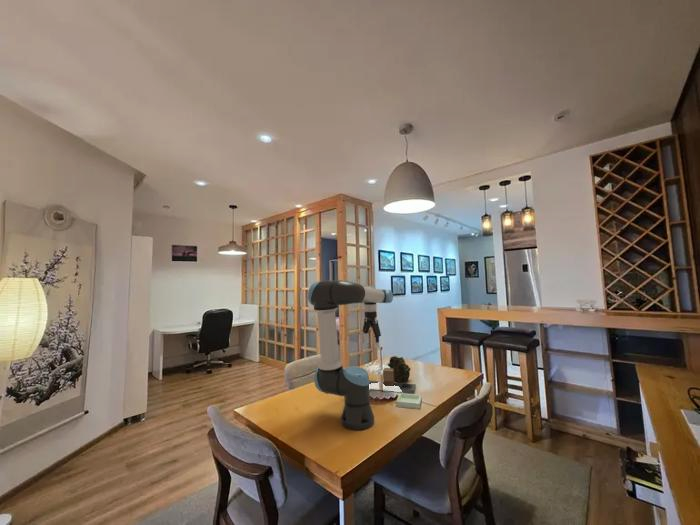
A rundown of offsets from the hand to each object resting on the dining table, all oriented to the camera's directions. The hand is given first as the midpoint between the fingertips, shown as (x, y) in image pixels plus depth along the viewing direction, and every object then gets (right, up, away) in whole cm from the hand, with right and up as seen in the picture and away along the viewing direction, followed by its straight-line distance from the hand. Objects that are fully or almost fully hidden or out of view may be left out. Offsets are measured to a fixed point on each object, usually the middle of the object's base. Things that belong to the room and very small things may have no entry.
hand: (371, 345), depth 176 cm
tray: (+17, -21, -29) cm, 40 cm away
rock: (+19, -24, +6) cm, 31 cm away
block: (+10, -23, -8) cm, 26 cm away
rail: (+10, -23, -8) cm, 26 cm away
